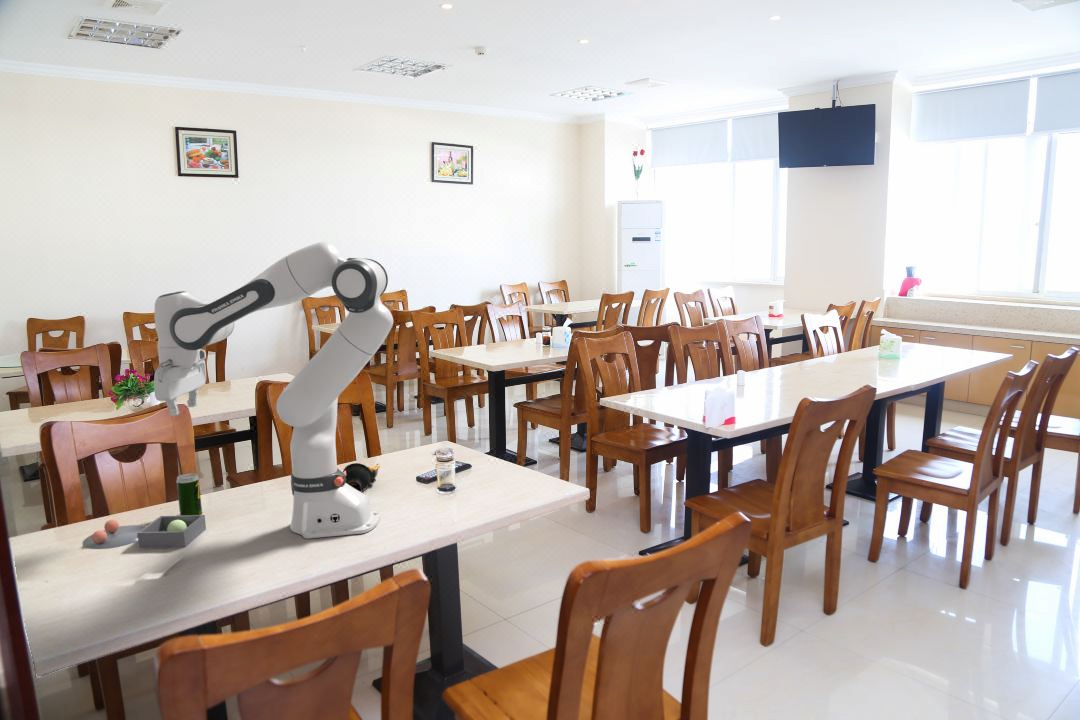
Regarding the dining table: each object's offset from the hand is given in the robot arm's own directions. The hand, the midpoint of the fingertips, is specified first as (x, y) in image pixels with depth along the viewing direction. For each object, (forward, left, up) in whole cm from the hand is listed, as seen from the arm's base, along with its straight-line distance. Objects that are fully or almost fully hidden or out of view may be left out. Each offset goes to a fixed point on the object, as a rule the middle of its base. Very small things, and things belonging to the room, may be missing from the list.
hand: (183, 410), depth 191 cm
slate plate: (+16, +8, -31) cm, 36 cm away
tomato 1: (+18, +12, -30) cm, 37 cm away
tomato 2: (+19, +5, -30) cm, 36 cm away
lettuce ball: (+1, +10, -29) cm, 31 cm away
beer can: (+4, -6, -31) cm, 32 cm away
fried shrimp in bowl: (-37, -31, -31) cm, 58 cm away
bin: (+1, +10, -31) cm, 33 cm away
